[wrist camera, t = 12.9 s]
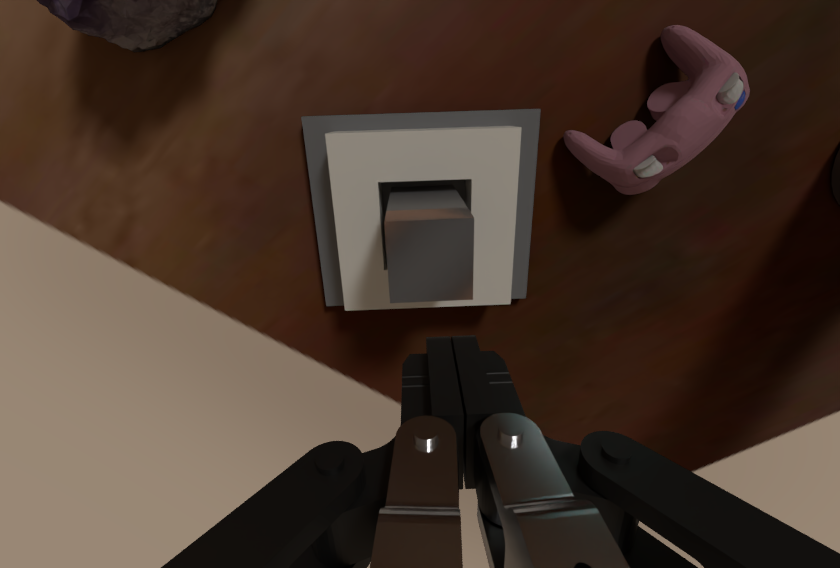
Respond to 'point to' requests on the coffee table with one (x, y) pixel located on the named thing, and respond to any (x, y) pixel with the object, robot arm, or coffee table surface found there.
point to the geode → (132, 19)
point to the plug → (429, 245)
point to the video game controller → (670, 117)
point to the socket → (421, 166)
